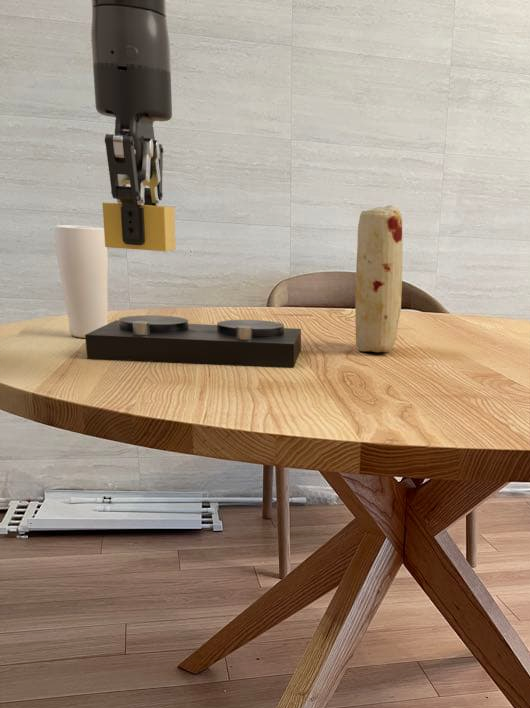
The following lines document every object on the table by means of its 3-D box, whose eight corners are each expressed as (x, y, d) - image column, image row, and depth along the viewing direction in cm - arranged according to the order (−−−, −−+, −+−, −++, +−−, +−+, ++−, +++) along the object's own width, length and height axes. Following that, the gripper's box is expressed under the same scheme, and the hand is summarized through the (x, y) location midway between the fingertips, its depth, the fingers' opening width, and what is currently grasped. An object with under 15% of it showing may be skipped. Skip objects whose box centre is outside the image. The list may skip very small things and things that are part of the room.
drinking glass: (61, 339, 117) (50, 226, 111) (68, 332, 123) (57, 224, 117) (112, 340, 118) (103, 228, 113) (116, 333, 124) (107, 227, 119)
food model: (402, 357, 117) (410, 206, 110) (356, 355, 117) (360, 203, 109) (395, 346, 126) (402, 206, 119) (352, 345, 126) (356, 203, 118)
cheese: (104, 247, 88) (102, 202, 86) (117, 245, 92) (115, 202, 90) (165, 251, 88) (164, 207, 86) (175, 249, 92) (174, 207, 91)
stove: (87, 358, 104) (83, 321, 103) (117, 341, 117) (114, 308, 115) (293, 367, 106) (293, 331, 104) (300, 350, 119) (301, 317, 117)
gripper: (114, 72, 90) (124, 238, 96) (70, 50, 77) (84, 243, 83) (184, 78, 90) (189, 243, 97) (152, 56, 77) (160, 249, 83)
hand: (140, 242), depth 90 cm, fingers closed on cheese, 4 cm apart
